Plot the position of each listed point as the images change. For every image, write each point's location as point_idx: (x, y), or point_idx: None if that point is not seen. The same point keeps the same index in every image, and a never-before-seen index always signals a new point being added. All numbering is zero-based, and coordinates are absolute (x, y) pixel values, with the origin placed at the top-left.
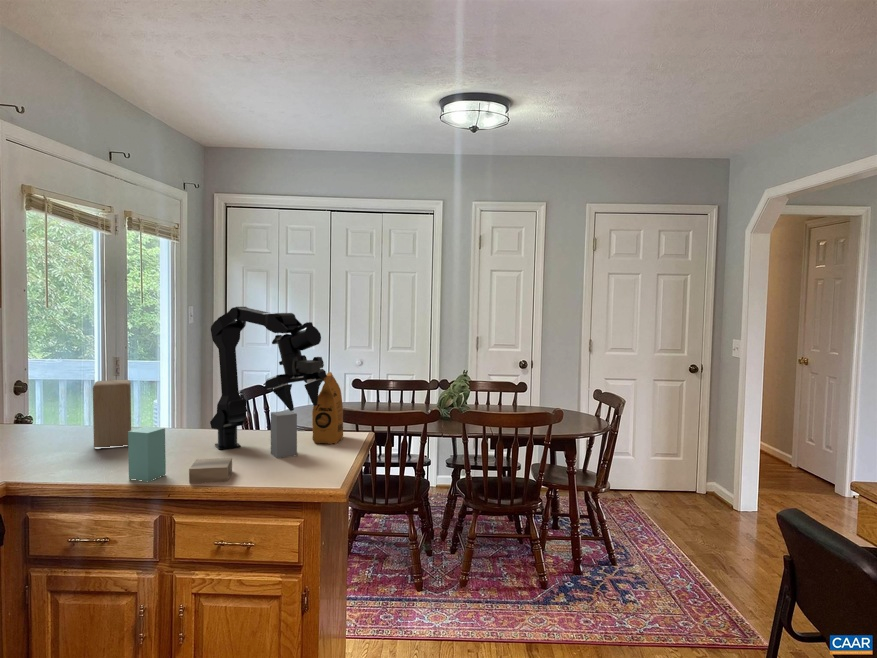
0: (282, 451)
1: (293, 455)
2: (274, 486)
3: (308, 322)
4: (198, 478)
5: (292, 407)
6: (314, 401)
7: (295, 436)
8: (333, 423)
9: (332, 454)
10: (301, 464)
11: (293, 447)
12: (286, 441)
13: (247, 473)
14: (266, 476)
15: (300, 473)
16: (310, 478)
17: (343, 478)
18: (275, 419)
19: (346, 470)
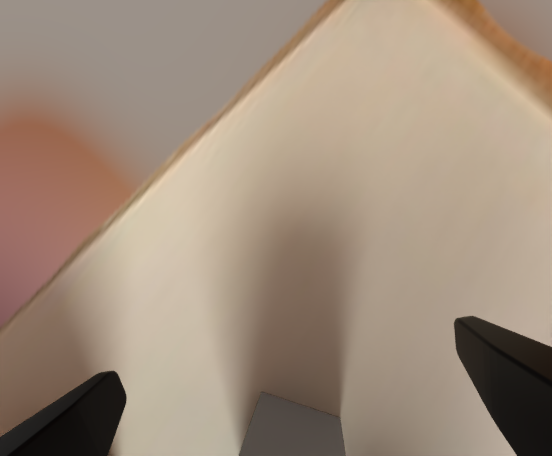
0: (318, 424)
1: (274, 397)
2: (545, 113)
3: None
4: None
5: (490, 327)
6: (92, 417)
7: (252, 441)
8: None
9: (161, 300)
10: (321, 273)
11: (270, 413)
12: (299, 444)
13: (539, 321)
14: (503, 235)
15: (390, 180)
16: (398, 106)
17: (318, 33)
18: None
19: (254, 100)
